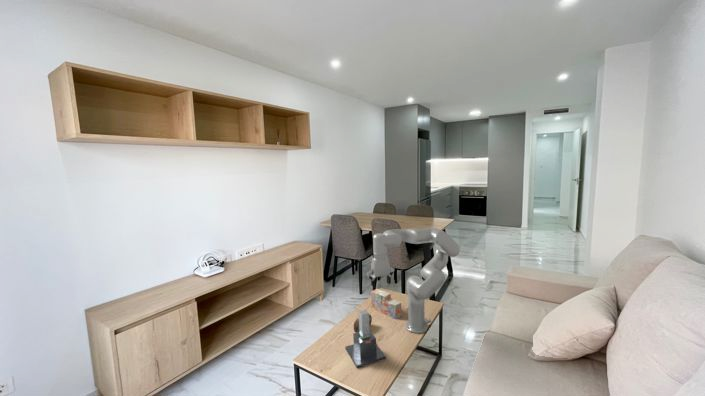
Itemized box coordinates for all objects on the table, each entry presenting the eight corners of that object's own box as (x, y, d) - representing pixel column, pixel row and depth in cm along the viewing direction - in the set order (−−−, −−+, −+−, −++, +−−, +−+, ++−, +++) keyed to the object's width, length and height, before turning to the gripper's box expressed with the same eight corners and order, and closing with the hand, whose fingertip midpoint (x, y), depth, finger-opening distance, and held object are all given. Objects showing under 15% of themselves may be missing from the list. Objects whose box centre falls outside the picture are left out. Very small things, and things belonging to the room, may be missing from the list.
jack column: (366, 338, 151) (365, 309, 149) (370, 342, 147) (369, 313, 146) (359, 340, 150) (358, 311, 148) (362, 344, 146) (361, 315, 144)
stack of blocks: (401, 315, 186) (401, 297, 184) (395, 319, 182) (395, 301, 180) (377, 304, 202) (377, 288, 200) (371, 307, 198) (371, 290, 196)
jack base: (372, 341, 160) (371, 324, 158) (385, 358, 145) (385, 340, 144) (345, 349, 154) (344, 331, 153) (356, 368, 139) (356, 348, 138)
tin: (357, 336, 165) (356, 322, 164) (352, 334, 167) (352, 321, 166) (372, 325, 176) (371, 312, 175) (368, 323, 178) (367, 310, 177)
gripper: (390, 251, 167) (391, 279, 169) (363, 256, 160) (364, 285, 162) (397, 255, 160) (397, 284, 162) (369, 260, 153) (370, 290, 155)
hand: (381, 284), depth 162 cm, fingers open, 9 cm apart
